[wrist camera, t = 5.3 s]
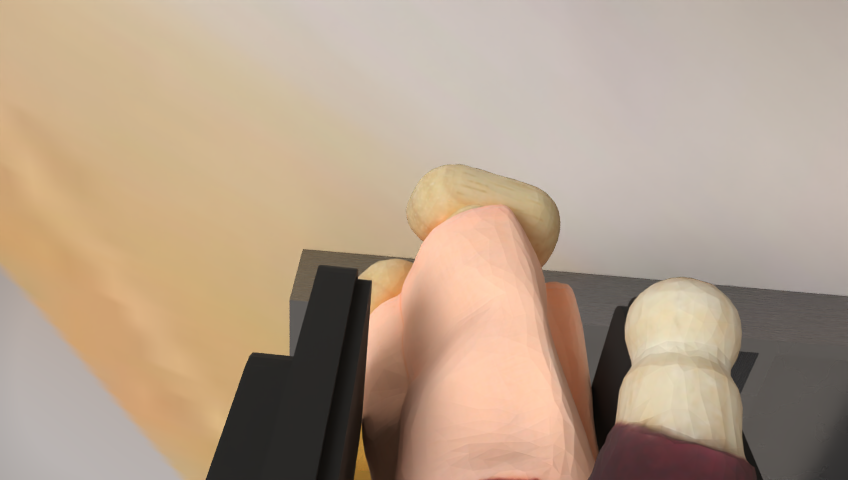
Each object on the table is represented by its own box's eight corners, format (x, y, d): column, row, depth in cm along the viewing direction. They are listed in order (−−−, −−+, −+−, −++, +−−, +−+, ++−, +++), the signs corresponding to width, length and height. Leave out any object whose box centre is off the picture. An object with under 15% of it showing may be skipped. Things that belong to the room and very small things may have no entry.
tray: (959, 306, 28) (1015, 366, 26) (815, 536, 36) (846, 601, 33) (302, 249, 27) (288, 305, 25) (300, 499, 35) (288, 563, 32)
